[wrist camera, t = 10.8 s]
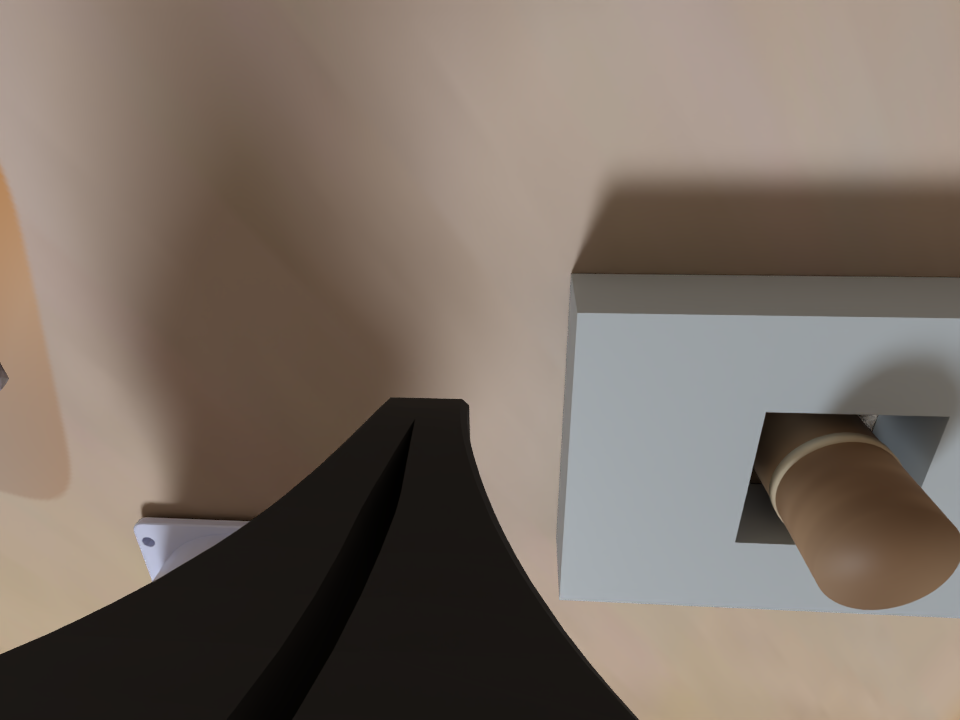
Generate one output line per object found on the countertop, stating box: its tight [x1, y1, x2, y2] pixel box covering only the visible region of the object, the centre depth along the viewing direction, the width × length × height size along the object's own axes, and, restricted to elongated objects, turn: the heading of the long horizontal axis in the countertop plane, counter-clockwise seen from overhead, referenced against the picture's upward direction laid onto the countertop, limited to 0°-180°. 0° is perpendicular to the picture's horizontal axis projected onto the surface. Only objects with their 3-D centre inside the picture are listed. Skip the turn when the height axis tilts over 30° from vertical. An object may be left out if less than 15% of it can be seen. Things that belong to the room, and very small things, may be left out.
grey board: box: [556, 274, 960, 618], centre depth 20 cm, size 11×16×3 cm
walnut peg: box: [753, 412, 960, 610], centre depth 19 cm, size 4×4×6 cm
